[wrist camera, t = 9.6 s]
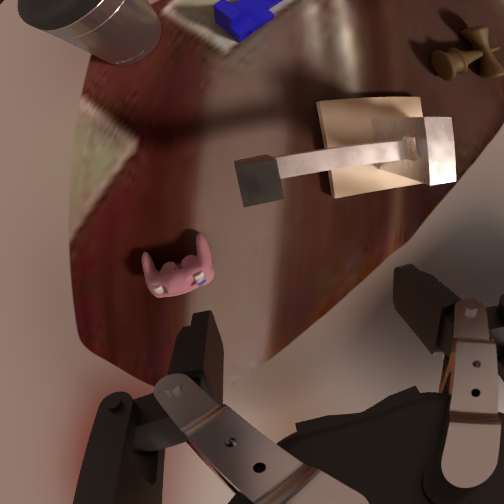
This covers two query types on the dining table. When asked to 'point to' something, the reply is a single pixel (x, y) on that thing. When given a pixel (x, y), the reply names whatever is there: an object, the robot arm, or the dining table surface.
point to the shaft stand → (383, 129)
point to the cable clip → (243, 16)
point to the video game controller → (180, 272)
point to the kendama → (468, 56)
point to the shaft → (307, 166)
